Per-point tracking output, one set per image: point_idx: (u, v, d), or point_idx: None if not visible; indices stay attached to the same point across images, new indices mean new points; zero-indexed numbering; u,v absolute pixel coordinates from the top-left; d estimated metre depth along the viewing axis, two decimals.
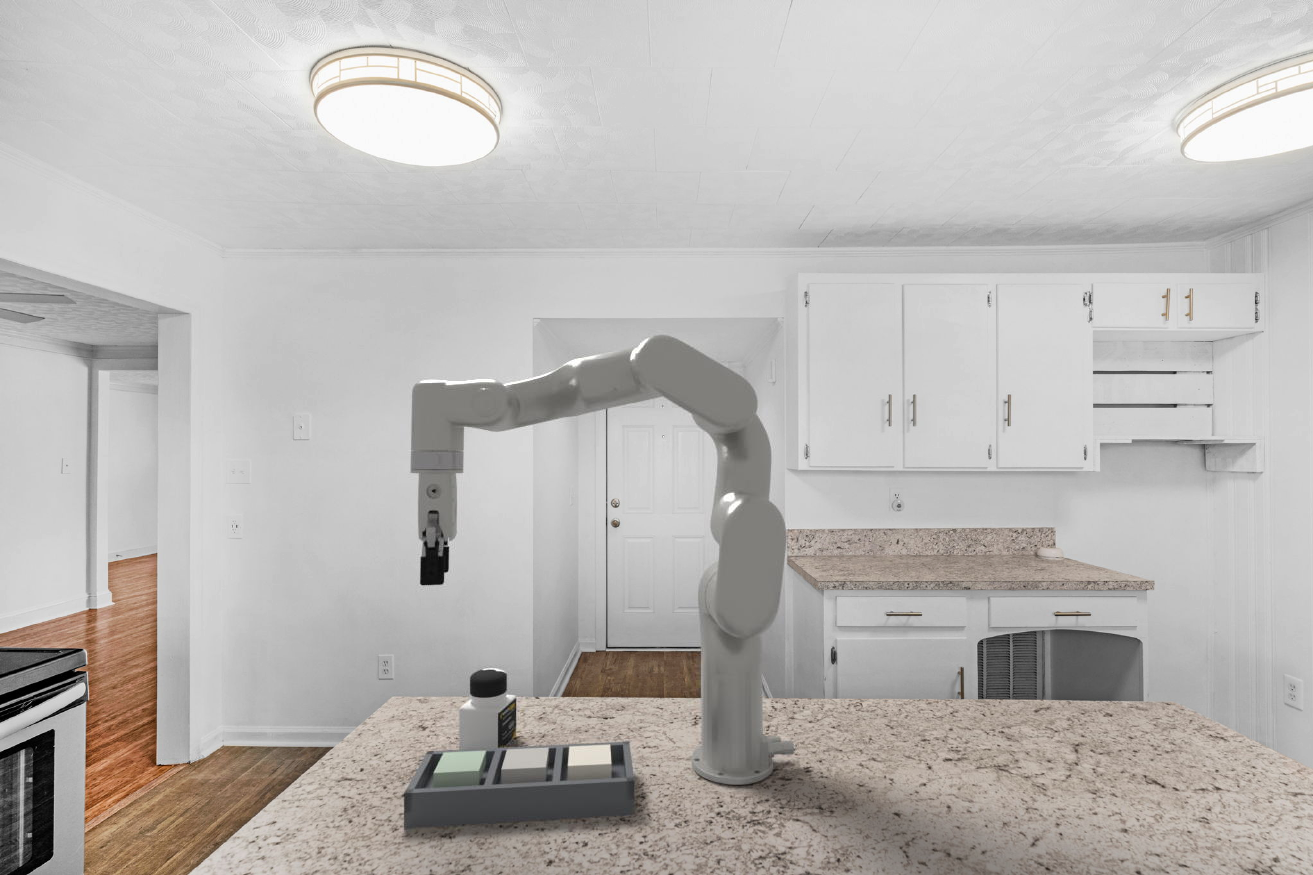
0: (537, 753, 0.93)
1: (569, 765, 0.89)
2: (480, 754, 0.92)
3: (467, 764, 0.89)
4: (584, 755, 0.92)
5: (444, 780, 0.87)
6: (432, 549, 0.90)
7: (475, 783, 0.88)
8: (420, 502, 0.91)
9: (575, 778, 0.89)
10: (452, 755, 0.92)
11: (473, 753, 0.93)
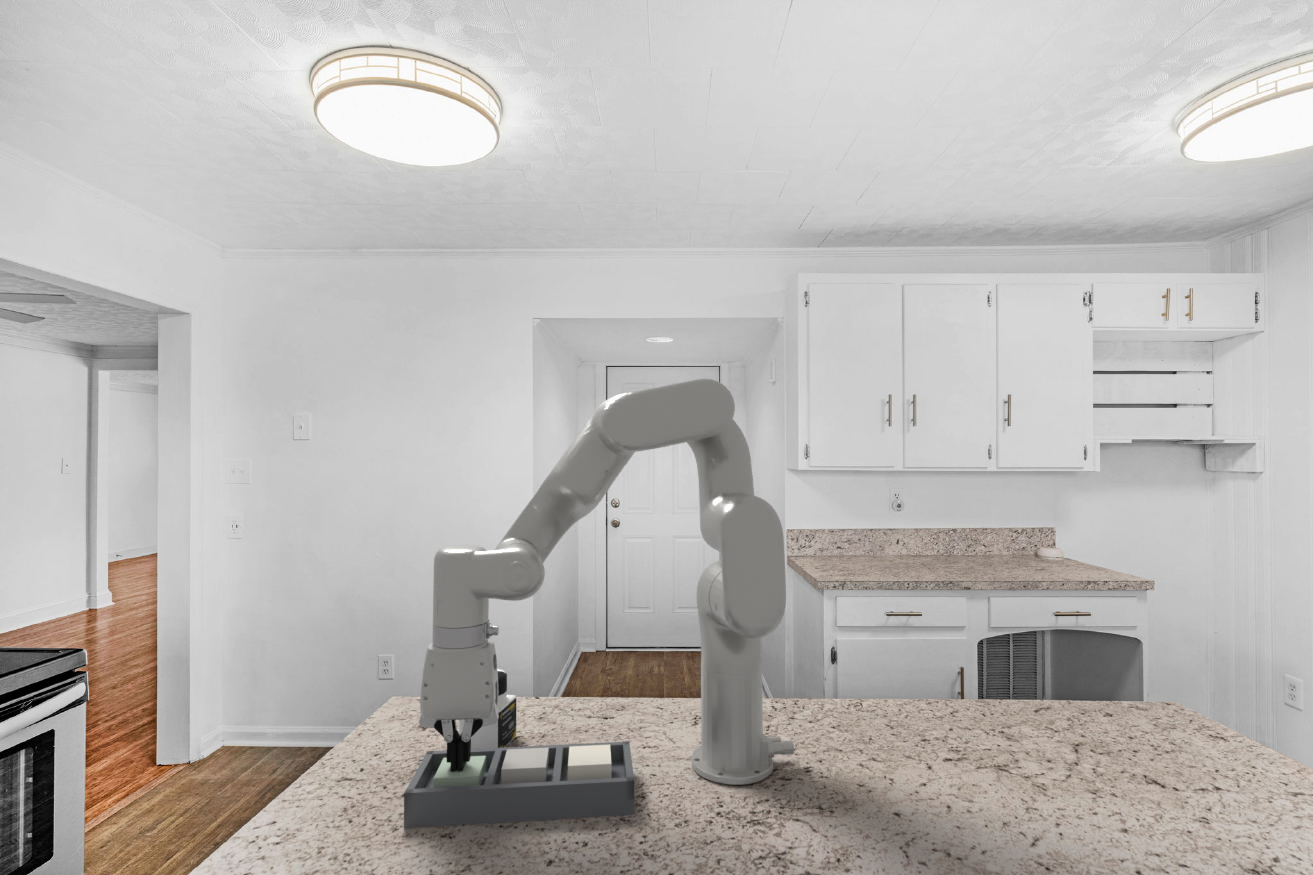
0: (537, 753, 0.93)
1: (569, 765, 0.89)
2: (480, 759, 0.92)
3: (467, 769, 0.89)
4: (584, 755, 0.92)
5: (444, 786, 0.87)
6: None
7: None
8: (491, 677, 0.89)
9: (575, 778, 0.89)
10: None
11: (473, 758, 0.93)
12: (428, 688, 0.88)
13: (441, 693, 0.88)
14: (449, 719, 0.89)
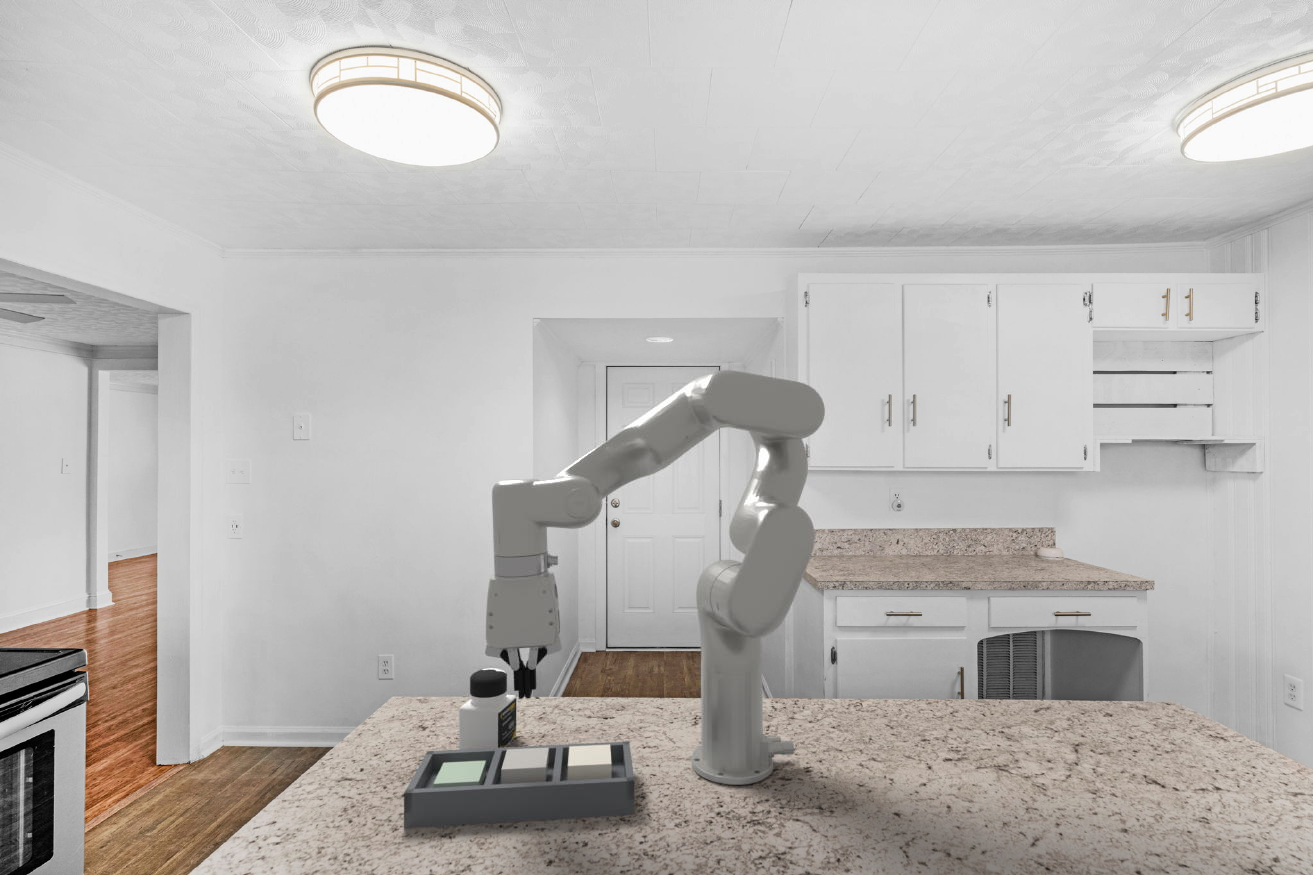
0: (537, 753, 0.93)
1: (569, 765, 0.89)
2: (480, 764, 0.92)
3: (467, 774, 0.89)
4: (584, 755, 0.92)
5: None
6: None
7: None
8: (554, 605, 0.90)
9: (575, 778, 0.89)
10: (452, 765, 0.92)
11: (473, 763, 0.93)
12: (493, 617, 0.89)
13: (506, 622, 0.89)
14: (515, 647, 0.90)
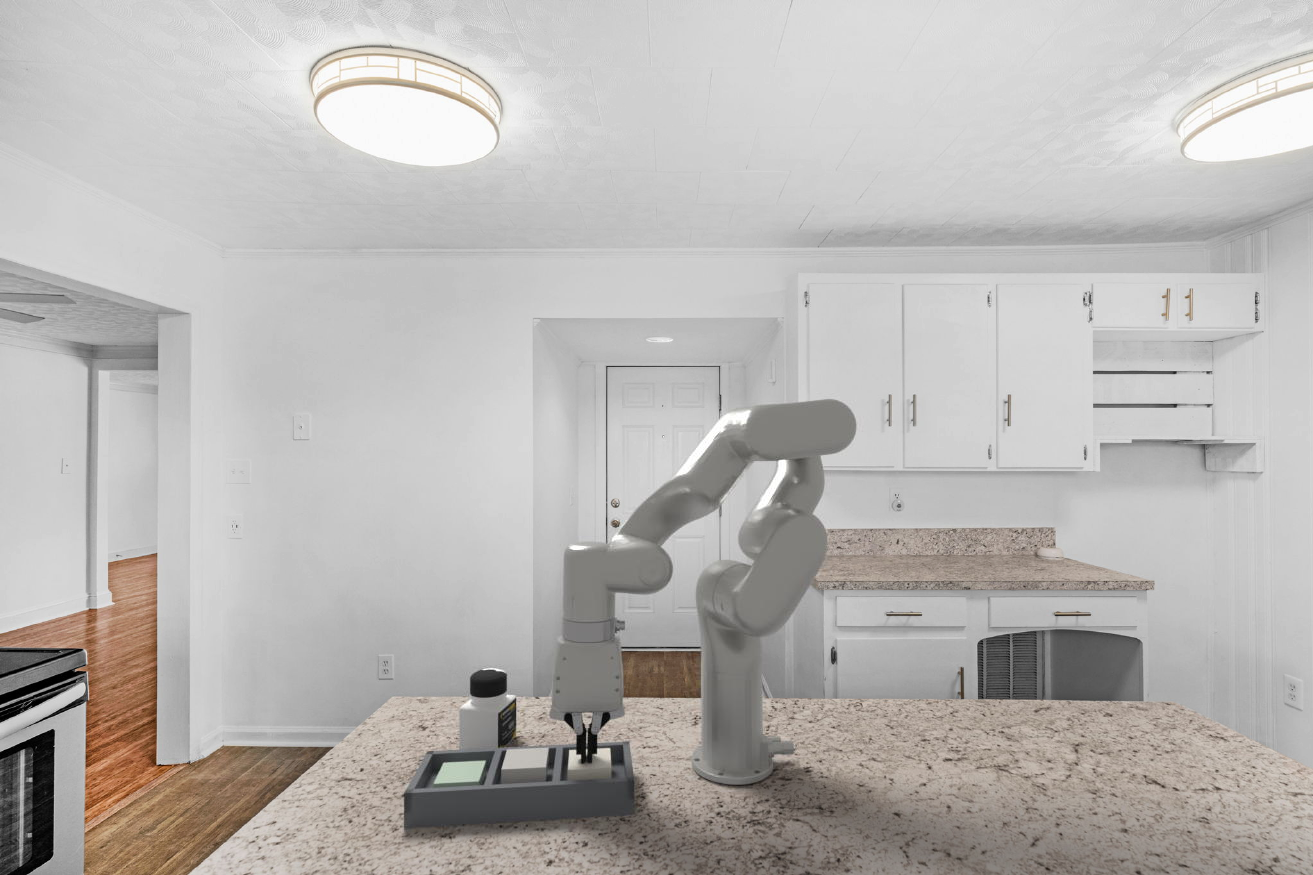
0: (537, 753, 0.93)
1: (569, 769, 0.89)
2: (480, 764, 0.92)
3: (467, 774, 0.89)
4: None
5: None
6: None
7: None
8: (621, 671, 0.91)
9: None
10: (452, 765, 0.92)
11: (473, 763, 0.93)
12: (560, 681, 0.90)
13: (573, 686, 0.90)
14: (580, 712, 0.90)
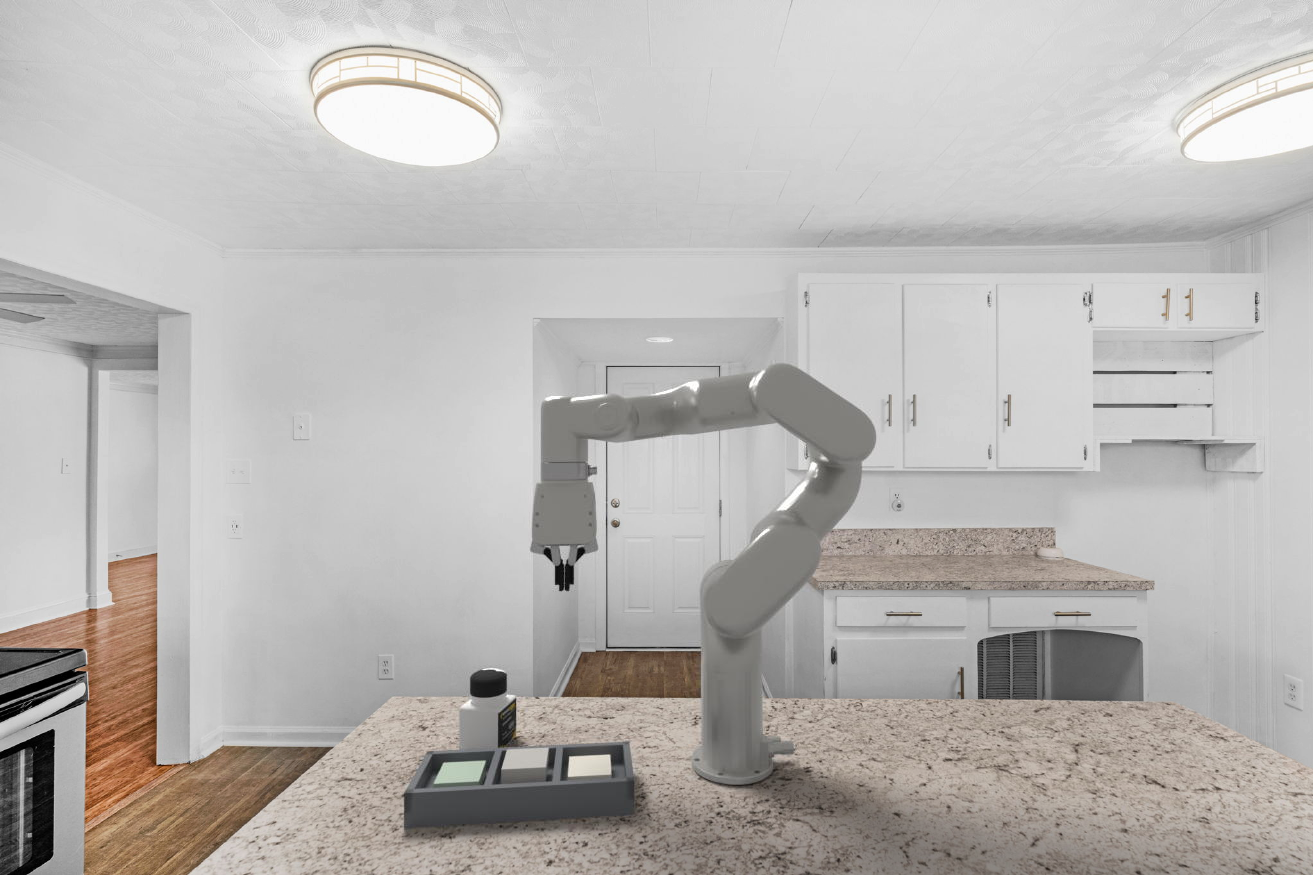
0: (537, 753, 0.93)
1: (569, 776, 0.89)
2: (480, 764, 0.92)
3: (467, 774, 0.89)
4: (584, 765, 0.92)
5: None
6: None
7: None
8: (593, 508, 1.01)
9: None
10: (452, 765, 0.92)
11: (473, 763, 0.93)
12: (539, 517, 1.00)
13: (550, 521, 1.00)
14: (557, 545, 1.01)
